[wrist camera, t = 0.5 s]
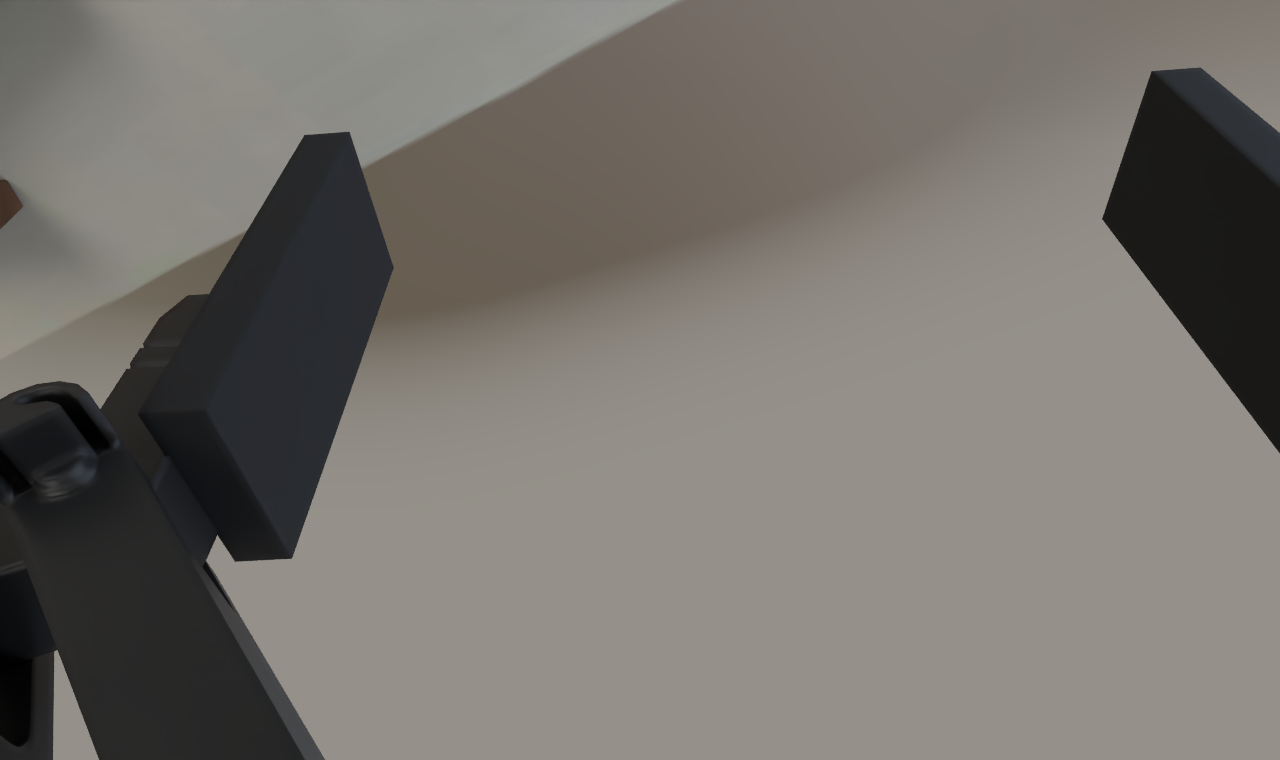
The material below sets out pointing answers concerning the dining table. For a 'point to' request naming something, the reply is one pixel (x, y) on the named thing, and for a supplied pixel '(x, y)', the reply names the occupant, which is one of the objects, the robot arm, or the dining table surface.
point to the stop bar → (7, 203)
